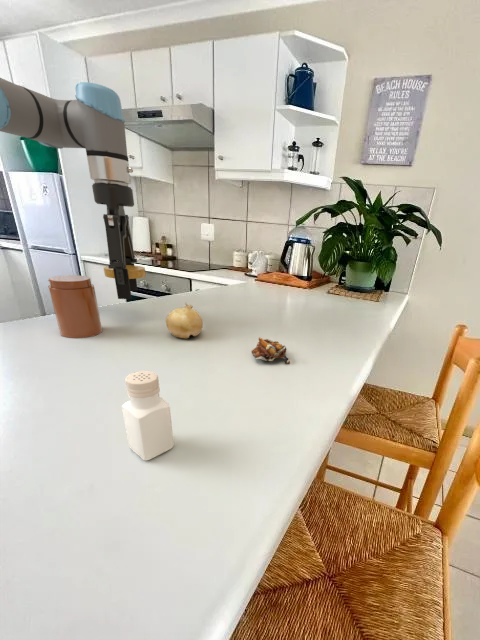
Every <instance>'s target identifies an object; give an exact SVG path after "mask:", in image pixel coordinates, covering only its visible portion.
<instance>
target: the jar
mask: <svg viewBox="0 0 480 640" xmlns="http://www.w3.org/2000/svg"><path fill="white" fill-rule="evenodd" d="M47 282H49V285H48V292H49V295H50V299H51V303H52V308H53V311H54V315H55V319H56V323H57V328H58V331H59V334H60V336H61V337H64V338H68V339H83V338H90V337H94V336H97V335H100V334H102V332H103V327H102V320H101V315H100V311H99V306H98V300H97V295H96V289H95V285H94V284H92V280H91V277H90V276H86V275H78V274H77V275H76V274H75V275H74V274H67V275H66V274H64V275H63V274H62V275H54V276H50V277H48V280H47Z"/></svg>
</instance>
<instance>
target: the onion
mask: <svg viewBox="0 0 480 640" xmlns="http://www.w3.org/2000/svg"><path fill="white" fill-rule="evenodd" d="M184 304H185V305H184V306H183V307H177V308H175V309H173V310H171V311H170V312H169V313H168V314H167V317H166V319H165V325H166V328H167V330H168V332H169V333H170V334H171V335H172V336H173V337H176V338H178V339H190V336H193V337H197V336H198V335H199V334H200V333H201V332H202V330H203V325H204V322H203V319H202V316H201V315H200V313H199V312H198V311H197V310H195V309H194V308H193V305H192V304H188V303H187V302H185V303H184Z"/></svg>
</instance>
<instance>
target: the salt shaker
mask: <svg viewBox="0 0 480 640" xmlns="http://www.w3.org/2000/svg"><path fill="white" fill-rule="evenodd" d="M124 381H125V387H126V392H127V396H128V398H129V400H127V401H125V402H124V403H123V404H122V405H121V411H122V416H123V422H124V427H125V431H126V438H127V442H128V443H127V444H128V447H129V448H130V449H131V450H132V451H133V452H134V453H135V454H136V455H137V456H139V457H140V459H142V460H143V461H150V460H152V459H153V458H155V457H158V456H160V455H162V454H164V453H165V452H167V451H170V450H172V448H174V446H175V441H174V431H173V423H172V413H171V405H170V403H169V402H168V401H167V400H165V399H164V398H163V397H161V396H160V392H161V391H160V382H159V376H158V374H157V373H156V372H155V371H152V370H151V371H150V370H140V371H136V372H135V371H134V372H132V373H129V374H128V375H127V376H126V377H125V379H124Z"/></svg>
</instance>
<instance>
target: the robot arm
mask: <svg viewBox="0 0 480 640" xmlns="http://www.w3.org/2000/svg"><path fill="white" fill-rule="evenodd" d="M74 89H75V99H56V98H53V97H50V96H47V95H45V94H42V93H40V92H37V91H35V90H33V89H29V88H27V87H24V86H22V85H19V84H16V83H13V82H11V81H10V80H6V79H5V78H2V77H0V132H1V133H5V134H9V135H14V136H18V137H23V138H26V139H29V140H32V141H36V142H37V143H39V144H40V145H42V146H45V147H48V148H49V147H50V148H55V149H58V150H59V149H60V150H61V149H85V153H86V159H87V166H88V172H89V178H90V180H92V181H94V182H93V183H92V185H91V189H92V193H93V194H92V195H93V200H94V202H95V204H97V205H104V206H106V213H104V214H103V215H102V219H103V222H104V227H105V236H106V243H107V252H108V261H109V263H108V265H107V266H108V267H109V269H113V271H114V277H115V278H114V282H115V288H116V295H117V299H118V300H132V299H133V298H132V291H133V292H138V290H139V289H138V282H137V278H136V279H129V276H128V269H126V265H135V263H136V264H137V263H138V258H136V255H135V251H134V245H133V239H132V234H131V226H130V216H129V215H128V214H126V211H125V207H128V208H129V207H130V208H132V207H135V199H134V190H133V189H132V187H131V186H129V185H131V183H132V179H131V174H132V173H133V172H134V169H133V167H132V166H130V162H129V156H128V148H127V137H126V124H125V119H124V114H123V108H122V103H121V99H120V96H119V95H118V93H117V91H115V90H114V89H112V88H110V87H107V86H106V85H103V84H99V83H94V82H89V81H82V82H81V81H80V82H79V83H77V84H76V85H75V86H74ZM130 173H131V174H130Z"/></svg>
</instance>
